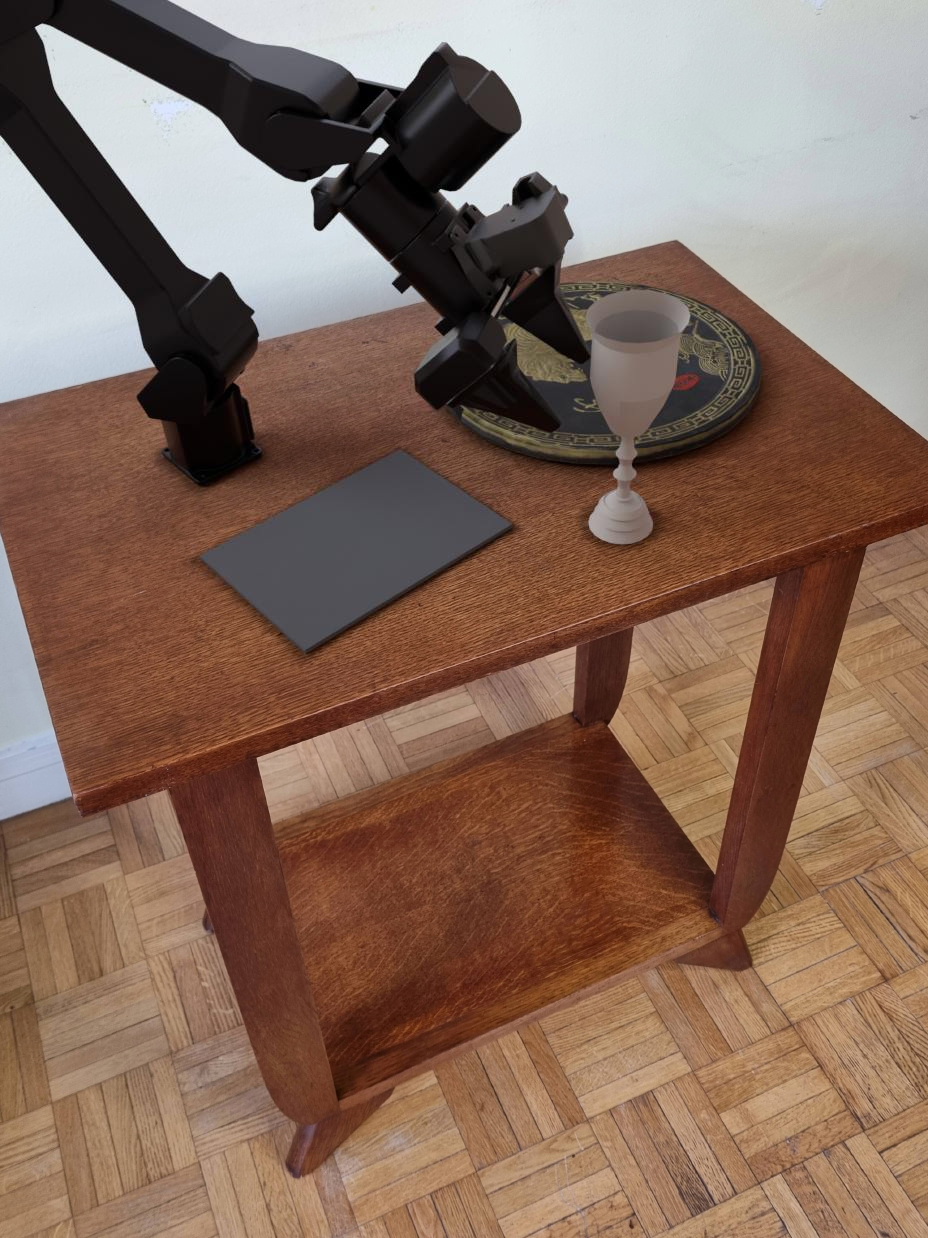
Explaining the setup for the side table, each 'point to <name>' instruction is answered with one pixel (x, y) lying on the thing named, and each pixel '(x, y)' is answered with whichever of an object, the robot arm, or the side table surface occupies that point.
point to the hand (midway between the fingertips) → (572, 393)
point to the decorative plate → (691, 417)
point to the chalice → (631, 391)
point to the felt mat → (353, 548)
